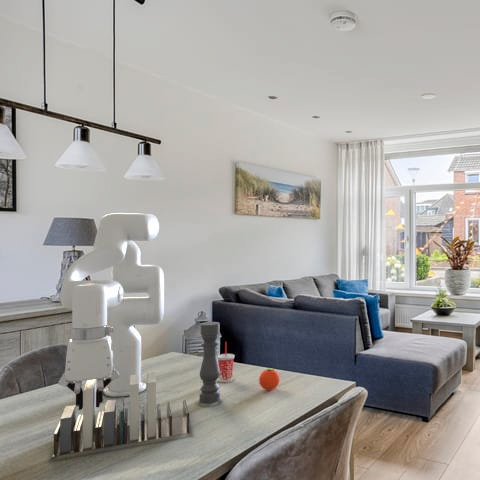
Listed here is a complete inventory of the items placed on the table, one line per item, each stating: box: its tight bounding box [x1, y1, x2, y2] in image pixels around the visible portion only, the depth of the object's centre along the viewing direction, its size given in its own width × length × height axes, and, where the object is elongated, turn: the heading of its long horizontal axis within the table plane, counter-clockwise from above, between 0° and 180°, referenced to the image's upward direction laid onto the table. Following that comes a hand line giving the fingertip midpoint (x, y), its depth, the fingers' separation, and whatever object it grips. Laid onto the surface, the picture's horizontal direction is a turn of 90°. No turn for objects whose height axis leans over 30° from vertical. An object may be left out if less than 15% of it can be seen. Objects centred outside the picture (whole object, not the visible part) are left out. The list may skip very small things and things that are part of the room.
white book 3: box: [146, 372, 157, 438], centre depth 119 cm, size 2×9×14 cm, turn 26°
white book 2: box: [129, 374, 140, 441], centre depth 117 cm, size 2×9×14 cm, turn 26°
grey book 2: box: [104, 399, 117, 445], centre depth 114 cm, size 2×9×8 cm, turn 26°
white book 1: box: [82, 379, 97, 449], centre depth 112 cm, size 2×9×14 cm, turn 26°
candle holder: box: [198, 321, 221, 404], centre depth 141 cm, size 6×6×25 cm
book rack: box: [52, 396, 191, 458], centre depth 116 cm, size 30×12×9 cm, turn 116°
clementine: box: [258, 367, 281, 391], centre depth 155 cm, size 8×7×7 cm
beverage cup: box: [216, 341, 236, 383], centre depth 164 cm, size 6×6×14 cm
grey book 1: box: [59, 404, 77, 453], centre depth 110 cm, size 2×9×8 cm, turn 26°
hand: (89, 406), depth 112 cm, fingers open, 3 cm apart
